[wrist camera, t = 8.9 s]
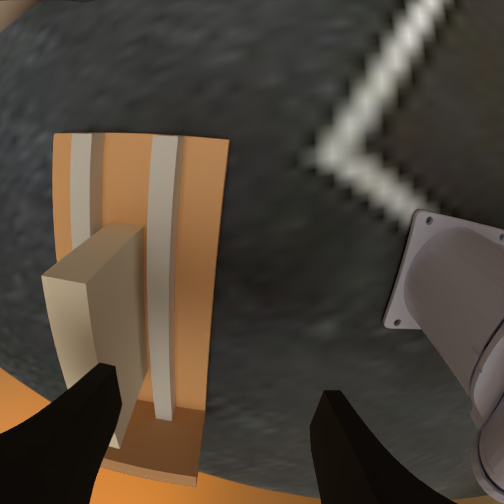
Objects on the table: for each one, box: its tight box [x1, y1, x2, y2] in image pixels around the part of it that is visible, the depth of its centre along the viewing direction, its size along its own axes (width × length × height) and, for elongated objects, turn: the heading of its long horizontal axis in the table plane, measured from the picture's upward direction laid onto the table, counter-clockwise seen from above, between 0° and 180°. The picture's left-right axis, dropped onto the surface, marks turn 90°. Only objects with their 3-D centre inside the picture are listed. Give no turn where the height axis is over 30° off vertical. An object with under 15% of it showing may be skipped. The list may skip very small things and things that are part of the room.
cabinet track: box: [53, 133, 230, 487], centre depth 16 cm, size 10×20×7 cm, turn 173°
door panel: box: [41, 222, 148, 449], centre depth 15 cm, size 2×10×7 cm, turn 173°
